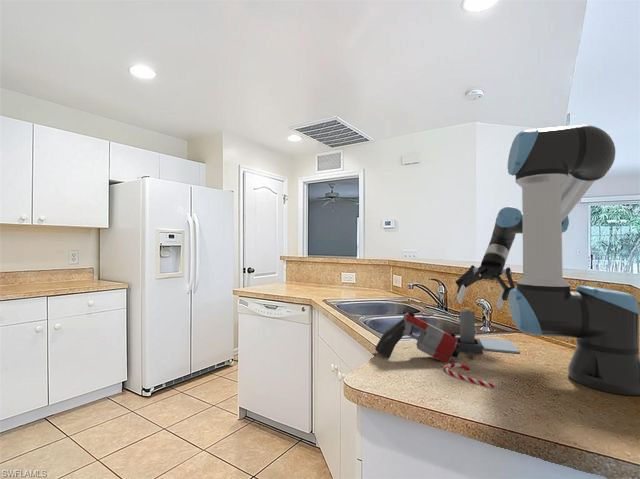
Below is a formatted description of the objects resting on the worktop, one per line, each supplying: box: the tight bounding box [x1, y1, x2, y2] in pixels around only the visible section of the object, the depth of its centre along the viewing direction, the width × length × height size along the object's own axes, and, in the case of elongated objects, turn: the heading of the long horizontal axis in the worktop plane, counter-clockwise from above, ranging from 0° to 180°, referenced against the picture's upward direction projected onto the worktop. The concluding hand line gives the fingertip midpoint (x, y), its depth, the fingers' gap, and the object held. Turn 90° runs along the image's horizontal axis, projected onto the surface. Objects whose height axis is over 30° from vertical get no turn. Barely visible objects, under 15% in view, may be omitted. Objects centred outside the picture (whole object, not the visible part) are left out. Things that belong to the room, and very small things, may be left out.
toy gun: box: [375, 311, 460, 364], centre depth 99 cm, size 5×22×15 cm, turn 78°
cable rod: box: [459, 307, 476, 344], centre depth 107 cm, size 4×4×13 cm
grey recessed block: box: [455, 336, 484, 360], centre depth 104 cm, size 14×8×2 cm, turn 162°
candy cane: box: [442, 362, 496, 389], centre depth 85 cm, size 8×1×15 cm
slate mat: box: [478, 337, 521, 355], centre depth 110 cm, size 12×10×1 cm
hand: (477, 304), depth 114 cm, fingers open, 13 cm apart
